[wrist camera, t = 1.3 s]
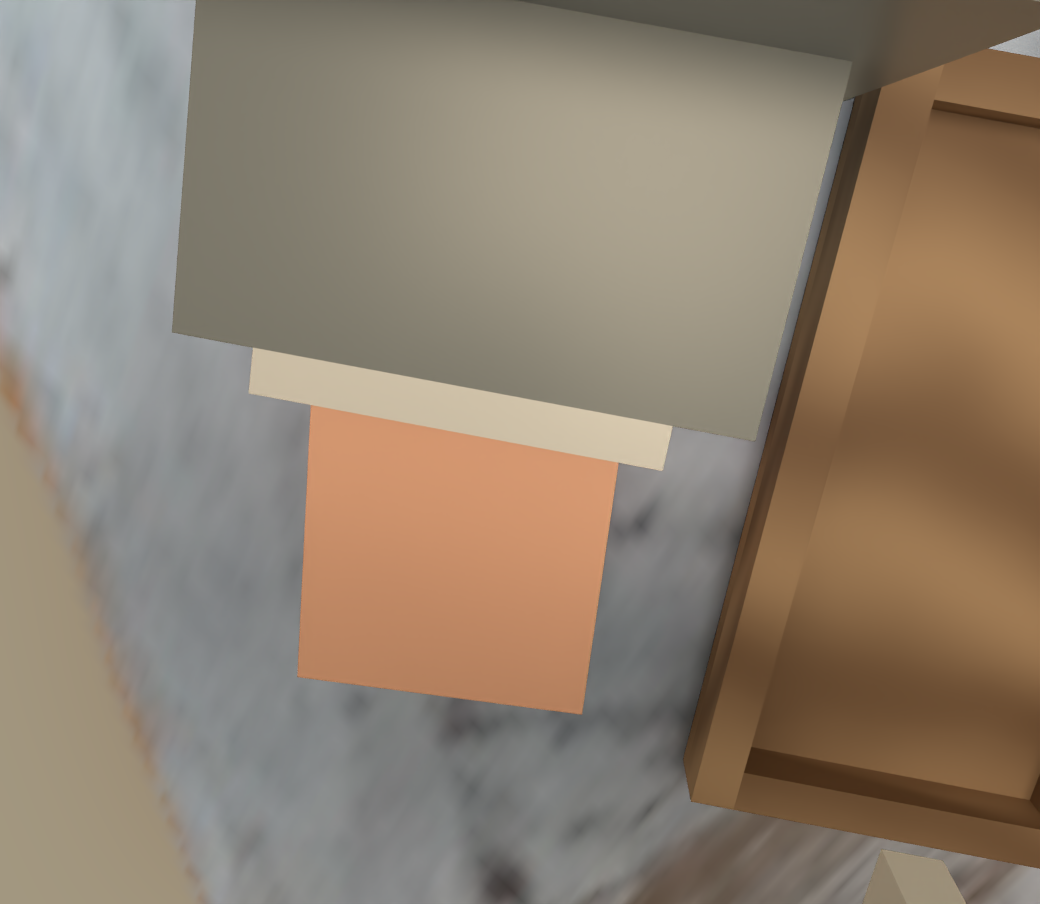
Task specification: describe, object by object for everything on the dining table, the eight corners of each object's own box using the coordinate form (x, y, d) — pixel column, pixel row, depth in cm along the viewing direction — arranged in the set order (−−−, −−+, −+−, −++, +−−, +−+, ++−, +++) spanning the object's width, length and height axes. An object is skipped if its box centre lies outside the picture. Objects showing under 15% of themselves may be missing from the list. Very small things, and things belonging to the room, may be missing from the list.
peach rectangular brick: (581, 572, 26) (581, 714, 19) (374, 546, 26) (297, 677, 19) (642, 132, 23) (670, 102, 16) (406, 105, 23) (328, 64, 16)
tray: (1046, 829, 27) (1082, 876, 25) (683, 759, 28) (690, 801, 26) (1324, 129, 22) (1396, 122, 20) (868, 46, 22) (896, 32, 20)
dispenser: (721, 388, 24) (894, 622, 11) (279, 306, 25) (-82, 437, 11) (852, -152, 21) (1343, -782, 8) (337, -245, 21) (-90, -1022, 8)
